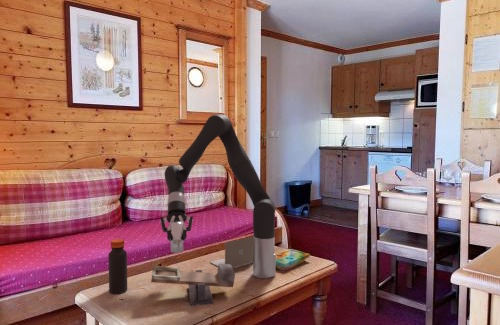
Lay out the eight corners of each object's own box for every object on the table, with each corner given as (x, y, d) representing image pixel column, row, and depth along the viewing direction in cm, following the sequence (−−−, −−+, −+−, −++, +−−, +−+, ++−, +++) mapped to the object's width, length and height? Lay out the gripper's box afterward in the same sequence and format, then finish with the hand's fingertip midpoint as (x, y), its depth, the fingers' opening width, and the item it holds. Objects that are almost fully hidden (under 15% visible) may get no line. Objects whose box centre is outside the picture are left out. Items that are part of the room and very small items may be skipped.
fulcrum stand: (208, 286, 152) (208, 268, 151) (213, 303, 136) (213, 284, 136) (188, 287, 150) (188, 270, 150) (190, 305, 135) (190, 286, 134)
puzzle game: (265, 256, 176) (290, 247, 191) (265, 266, 176) (289, 256, 191) (285, 262, 168) (309, 252, 183) (285, 272, 169) (309, 261, 184)
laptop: (239, 255, 191) (239, 230, 190) (255, 262, 181) (255, 236, 180) (209, 263, 179) (209, 236, 178) (225, 271, 170) (225, 242, 169)
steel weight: (183, 248, 157) (182, 220, 156) (183, 252, 152) (183, 223, 151) (170, 249, 156) (170, 220, 155) (170, 253, 151) (170, 224, 150)
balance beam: (228, 277, 150) (230, 264, 150) (233, 287, 141) (235, 273, 140) (152, 272, 144) (154, 258, 143) (151, 282, 134) (153, 268, 134)
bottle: (114, 296, 142) (113, 244, 140) (105, 291, 146) (104, 240, 145) (130, 290, 147) (130, 240, 145) (121, 285, 151) (120, 237, 150)
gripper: (159, 200, 158) (158, 236, 148) (193, 199, 161) (195, 234, 150) (159, 209, 164) (159, 245, 153) (192, 209, 167) (194, 243, 156)
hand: (177, 239), depth 152 cm, fingers closed on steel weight, 5 cm apart
